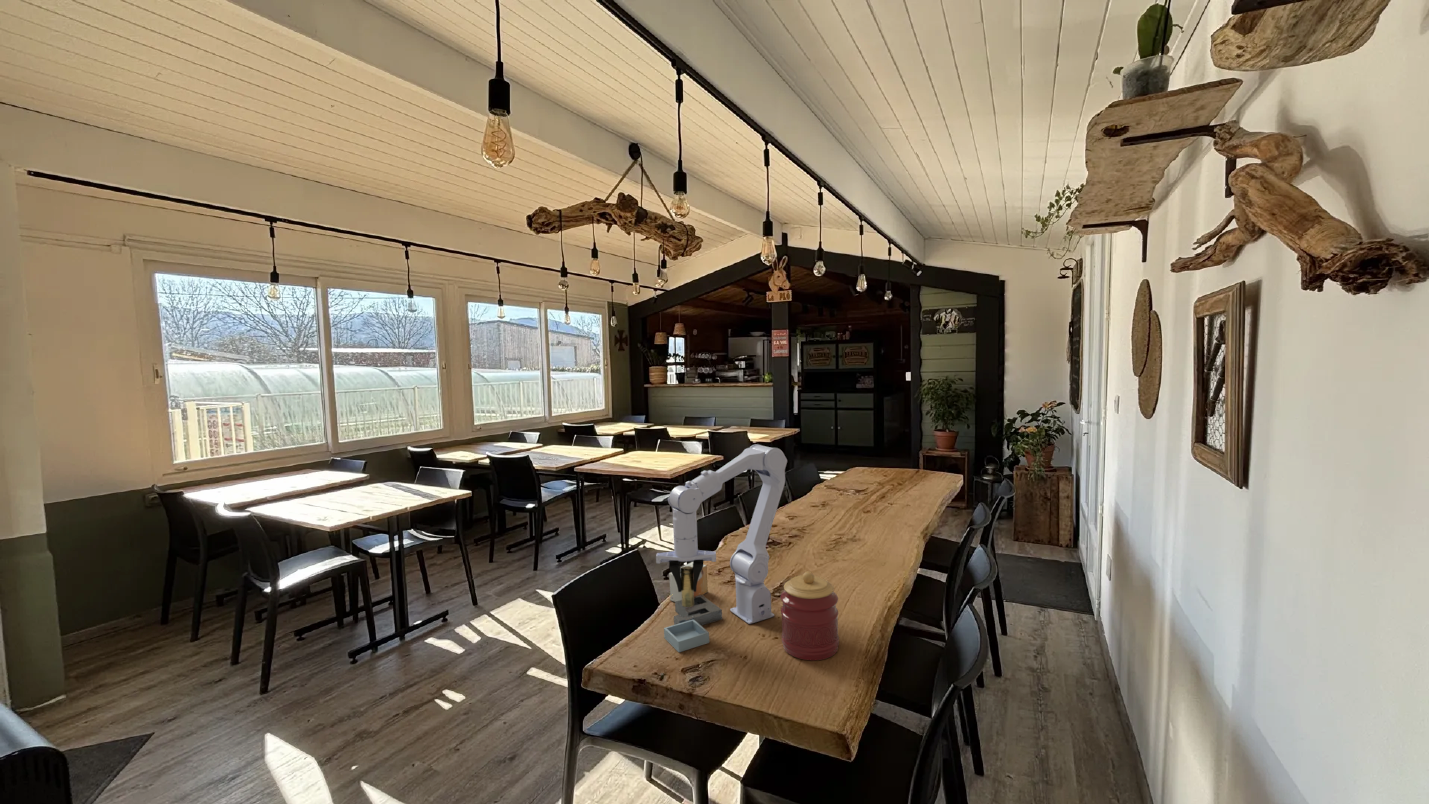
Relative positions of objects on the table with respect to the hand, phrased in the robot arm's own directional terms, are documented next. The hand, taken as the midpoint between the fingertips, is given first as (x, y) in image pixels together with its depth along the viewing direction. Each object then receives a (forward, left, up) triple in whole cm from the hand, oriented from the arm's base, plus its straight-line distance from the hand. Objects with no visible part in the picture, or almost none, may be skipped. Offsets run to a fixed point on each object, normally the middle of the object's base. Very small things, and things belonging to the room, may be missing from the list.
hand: (687, 590), depth 137 cm
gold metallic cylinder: (0, 0, -4) cm, 4 cm away
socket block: (+7, -6, -11) cm, 14 cm away
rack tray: (-3, +2, -11) cm, 11 cm away
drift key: (+3, -2, -11) cm, 11 cm away
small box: (+21, -14, -6) cm, 26 cm away
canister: (-22, -20, -11) cm, 32 cm away
